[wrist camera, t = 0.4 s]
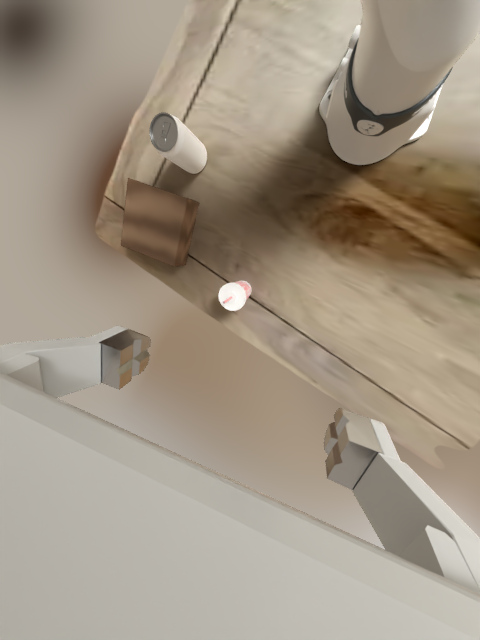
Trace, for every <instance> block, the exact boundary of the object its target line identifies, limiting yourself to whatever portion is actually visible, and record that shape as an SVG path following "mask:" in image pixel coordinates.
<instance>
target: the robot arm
mask: <svg viewBox="0 0 480 640" xmlns="http://www.w3.org/2000/svg"><path fill="white" fill-rule="evenodd" d="M361 4H362V10H363V15H362V22H361V25H357V26H356V28H355V30H354V32H353V34H352V37H351V39H350V42H349V46H348V47H349V50H348V52H347V53H346V55H345V57H344V58H343V60H342V62H341V64H340V67H339V68H338V70H337V72H336V74H335V76H334V78H333V80H332V82H331V83H330V85H329V87H328V89H327V91H326V93H325V95H324V96H323V98H322V100H321V102H320V106H319V112H320V114H321V116H322V118H323V120H324V121H325V123H326V125H327V131H328V138H329V142H330V145H331V147H332V149H333V151H334V152H335V153H336V154H337V156H338V157H340V158H341V159H342V160H344V161H346V162H348V163H351V164H355V165H367V164H372V163H375V162H378V161H380V160H382V159H384V158H386V157H387V156H389V155H390V154H392V153H393V152H394V151H395V150H397V149H398V148H399V147H401V146H402V145H404V144H407V143H410V142H413V141H415V140H417V139H419V138H421V137H422V136H423V135H424V134H425V132H426V131H427V129H428V126H429V123H430V120H431V117H432V114H433V111H434V109H435V106H436V103H437V100H438V97H439V94H440V91H441V88H442V85H443V83H444V82H445V80H446V78H447V77H448V75H449V73H450V72H451V70H452V68H453V66H454V65H455V63H456V62H457V61H458V60H459V58H460V57H461V56H462V55H463V53H464V52H465V51H466V50H467V49H468V47H469V46H470V45H471V44H472V43H473V41H474V40H475V39H476V38H477V36H478V35H479V34H480V0H361ZM330 96H331V97H330ZM329 97H330V100H329V99H328V98H329ZM150 343H151V340H150V338H149V337H148V336H145V335H143V334H140V333H137V332H135V331H132V330H129V329H127V328H124V327H122V326H115V327H113V328H110V329H108V330H105V331H103V332H101V333H98V334H96V335H94V336H91V337H89V338H85V337H80V338H69V339H68V338H67V339H56V340H44V341H33V342H21V343H10V344H5V345H2V346H0V640H480V538H479V537H478V536H477V535H476V534H475V533H474V532H473V531H472V530H471V529H470V528H469V527H468V526H467V525H466V524H465V522H464V521H462V519H460V518H459V517H458V516H457V514H456V513H455V512H454V511H453V510H452V509H451V508H449V506H448V505H447V504H445V502H444V501H443V500H442V499H441V498H440V497H439V496H438V495H437V494H436V493H435V492H434V491H433V490H432V489H431V488H430V487H429V486H428V485H427V484H426V483H425V482H424V481H423V480H422V479H421V478H420V477H419V476H418V475H417V474H416V473H415V472H414V471H413V470H412V469H411V468H410V467H409V466H408V465H407V464H406V463H404V462H401V460H400V458H399V456H398V454H397V451H396V449H395V447H394V445H393V443H392V440H391V438H390V436H389V433H388V431H387V429H386V427H385V425H384V424H383V423H382V422H380V421H377V420H374V419H371V418H368V417H364V416H361V415H359V414H356V413H353V412H350V411H347V410H344V409H342V408H338V409H337V410H336V412H335V414H334V420H335V422H333V423H331V424H329V426H328V428H327V430H326V434H325V438H324V450H325V451H326V453H327V454H328V457H327V459H326V461H325V462H326V472H327V479H329V480H332V481H334V482H336V483H338V484H341V485H343V486H345V487H347V488H349V489H351V490H353V493H354V495H355V497H356V499H357V500H358V502H359V504H360V506H361V507H362V509H363V511H364V513H365V514H366V516H367V518H368V520H369V521H370V523H371V525H372V527H373V528H374V530H375V532H376V534H377V535H378V537H379V539H380V541H381V542H382V544H383V546H384V548H385V550H384V549H382V548H380V547H378V546H375V545H373V544H371V543H369V542H367V541H365V540H362V539H360V538H358V537H356V536H354V535H352V534H349V533H347V532H345V531H343V530H341V529H339V528H336V527H334V526H332V525H330V524H328V523H326V522H323V521H321V520H319V519H317V518H315V517H312V516H310V515H308V514H306V513H304V512H302V511H300V510H297V509H295V508H293V507H291V506H289V505H287V504H284V503H282V502H280V501H278V500H276V499H274V498H272V497H269V496H267V495H265V494H263V493H261V492H258V491H256V490H254V489H252V488H250V487H248V486H246V485H243V484H241V483H239V482H237V481H235V480H233V479H231V478H228V477H226V476H224V475H222V474H220V473H218V472H215V471H213V470H211V469H209V468H207V467H204V466H202V465H200V464H198V463H196V462H194V461H192V460H189V459H187V458H185V457H183V456H181V455H179V454H176V453H174V452H172V451H170V450H168V449H166V448H163V447H161V446H159V445H157V444H155V443H152V442H150V441H148V440H146V439H144V438H142V437H139V436H137V435H135V434H133V433H130V432H129V431H127V430H124V429H122V428H120V427H118V426H116V425H114V424H111V423H109V422H107V421H105V420H103V419H100V418H98V417H96V416H94V415H92V414H90V413H88V412H85V411H83V410H81V409H79V408H77V407H74V406H72V405H70V404H68V403H66V402H64V401H61V400H59V399H57V398H58V397H61V396H64V395H67V394H70V393H73V392H76V391H79V390H82V389H86V388H88V387H92V386H95V385H98V384H101V383H104V384H106V385H109V386H111V387H114V388H117V389H121V388H122V387H123V386H125V385H126V384H127V383H128V382H130V381H131V379H132V376H134V375H139V374H140V373H141V372H142V371H144V369H145V368H146V366H147V365H148V361H149V356H150V355H149V353H148V351H147V349H148V348H149V347H150Z"/></svg>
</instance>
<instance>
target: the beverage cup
mask: <svg viewBox="0 0 480 640" xmlns="http://www.w3.org/2000/svg"><path fill="white" fill-rule="evenodd" d="M250 294H251V286H250V284H248V283H247V282H246V281H238V282H234V283H227V284H225V285H223V286H222V288H221V289H220V291H219V294H218V296H219V301H220V303H221V305H222V306H223V307H224V308H225V309H227V310H230V311H236V310H238V309H240V308H241V307H242V306H243V305H244V304H245V301H246V300H247V298H248V297H249V296H250Z"/></svg>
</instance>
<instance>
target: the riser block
mask: <svg viewBox="0 0 480 640" xmlns="http://www.w3.org/2000/svg"><path fill="white" fill-rule="evenodd" d="M198 206H199V203H198V202H196V201H193V200H191V199H188V198H186V197H183V196H180V195H177V194H174V193H171V192H168V191H165V190H162V189H159V188H156V187H153V186H150V185H147V184H145V183H142V182H139V181H136V180H133V179H130V178H128V182H127V192H126V201H125V211H124V221H123V230H122V240H121V246H123V247H126V248H128V249H131V250H133V251H136V252H139V253H141V254H144V255H146V256H149V257H151V258H154V259H156V260H159V261H161V262H164V263H166V264H169V265H171V266H180V265H186V260H187V256H188V251H189V247H190V242H191V238H192V233H193V229H194V224H195V219H196V215H197V210H198Z"/></svg>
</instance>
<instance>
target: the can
mask: <svg viewBox="0 0 480 640" xmlns="http://www.w3.org/2000/svg"><path fill="white" fill-rule="evenodd" d="M150 139H151V142H152V144H153V145H154V147H155V148H156V149H157V151H158V152H159V153H160V154H161V155H162V156H164V157H165V158H167V159H168V160H170V161H171V162H173V163H174V164H176V165H177V166H179V167H181V168H182V169H184V170H185V171H187V172H189V173H192V174H196V173H199V172H200V171H201V170H202V169H203V168H204V167H205V165H206V162H207V151H206V148H205V146H204V145H203V143H202V142H201V141H200V140H199V139H198V138H197V137H196V136H195V135H194V134H193V133H192V132H191V131H190V130H189V129H188V128H187V127H186V126H185V125H184V124H183V123H182V122H181V121H180V120H179V119H178V118H177V117H175V116H173V115H170V114H168V113H159V114H157V115H156V116H155V117H154V118H153V120H152V122H151V125H150Z"/></svg>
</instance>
